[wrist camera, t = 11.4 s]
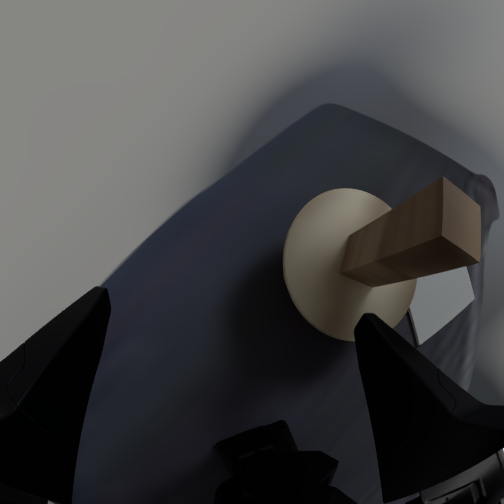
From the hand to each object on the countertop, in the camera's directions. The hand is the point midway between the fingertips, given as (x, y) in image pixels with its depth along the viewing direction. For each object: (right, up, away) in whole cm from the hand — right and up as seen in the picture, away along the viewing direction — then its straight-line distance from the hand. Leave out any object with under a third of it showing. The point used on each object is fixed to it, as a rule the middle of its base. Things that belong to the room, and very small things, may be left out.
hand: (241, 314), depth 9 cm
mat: (+21, 0, +17) cm, 27 cm away
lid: (+8, +1, +11) cm, 14 cm away
